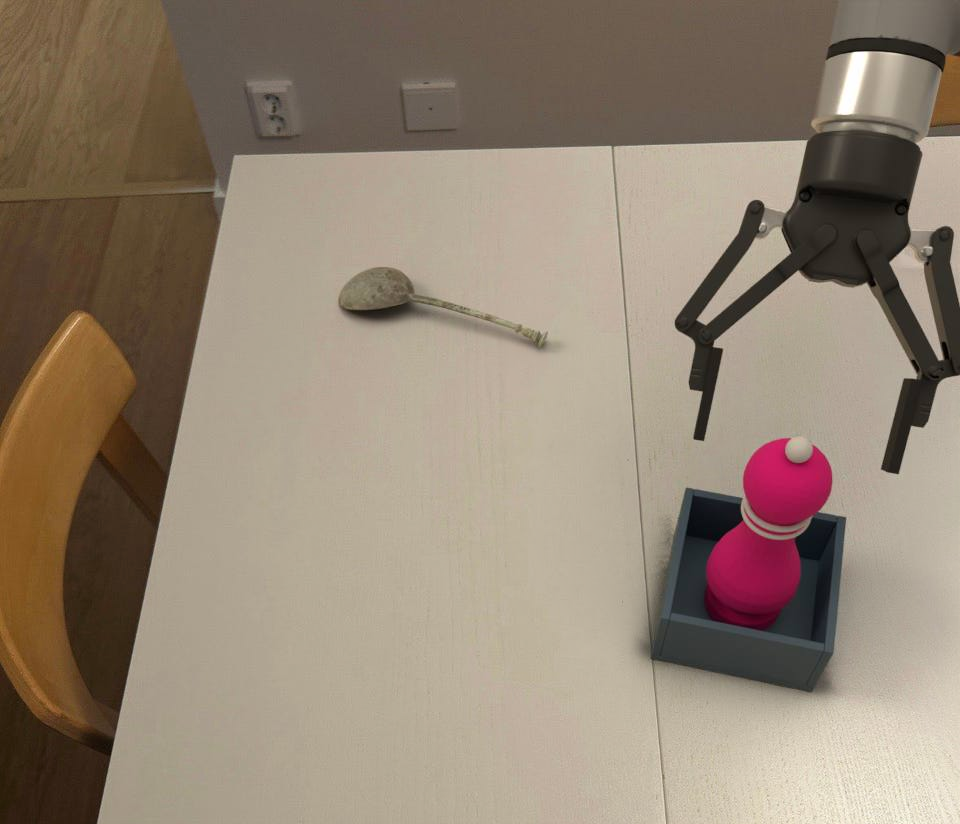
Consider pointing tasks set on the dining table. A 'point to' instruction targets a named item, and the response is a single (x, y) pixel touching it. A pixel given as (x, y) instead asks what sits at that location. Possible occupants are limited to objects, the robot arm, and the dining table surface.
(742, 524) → the pepper mill
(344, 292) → the soupspoon
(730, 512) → the box
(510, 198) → the dining table surface
